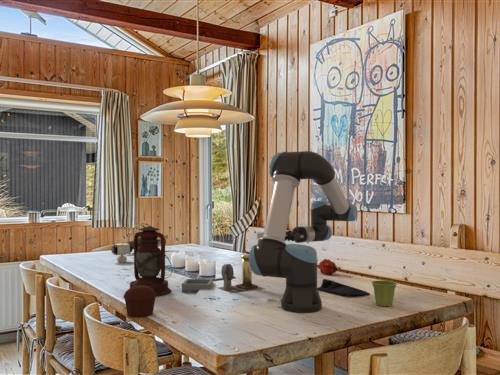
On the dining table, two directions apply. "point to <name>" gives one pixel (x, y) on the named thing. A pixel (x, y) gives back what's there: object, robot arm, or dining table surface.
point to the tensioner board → (228, 276)
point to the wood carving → (140, 239)
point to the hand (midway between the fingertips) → (265, 237)
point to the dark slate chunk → (340, 289)
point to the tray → (196, 284)
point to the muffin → (140, 301)
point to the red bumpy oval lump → (327, 267)
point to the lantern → (150, 261)
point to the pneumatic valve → (121, 251)
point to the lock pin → (246, 271)
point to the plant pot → (384, 292)
